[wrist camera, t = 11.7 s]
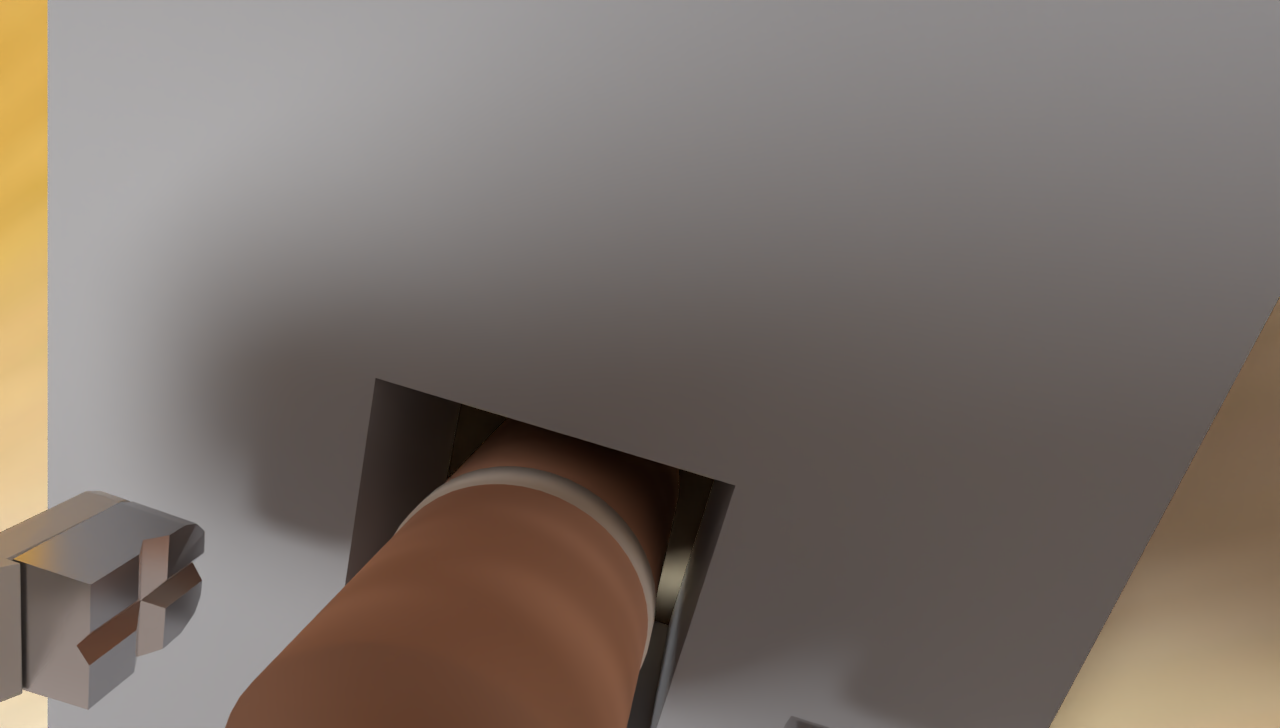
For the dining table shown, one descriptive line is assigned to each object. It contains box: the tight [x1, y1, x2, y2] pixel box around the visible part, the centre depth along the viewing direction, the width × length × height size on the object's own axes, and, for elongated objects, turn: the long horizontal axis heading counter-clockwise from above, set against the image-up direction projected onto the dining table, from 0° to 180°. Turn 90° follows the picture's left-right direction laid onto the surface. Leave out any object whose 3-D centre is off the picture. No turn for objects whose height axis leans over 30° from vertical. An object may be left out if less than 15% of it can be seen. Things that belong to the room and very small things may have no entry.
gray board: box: [48, 0, 1280, 728], centre depth 13 cm, size 16×20×4 cm
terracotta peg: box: [225, 418, 680, 728], centre depth 11 cm, size 4×4×8 cm
